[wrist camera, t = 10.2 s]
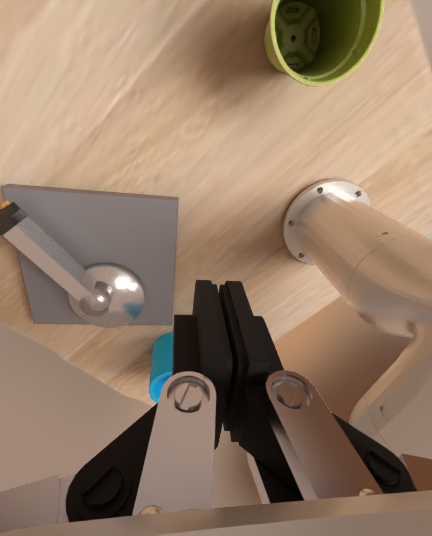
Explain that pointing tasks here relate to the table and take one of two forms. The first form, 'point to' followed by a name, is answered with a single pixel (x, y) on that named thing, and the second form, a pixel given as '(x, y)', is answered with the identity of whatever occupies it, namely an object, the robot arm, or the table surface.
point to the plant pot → (321, 37)
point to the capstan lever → (77, 273)
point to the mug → (161, 365)
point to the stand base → (101, 245)
